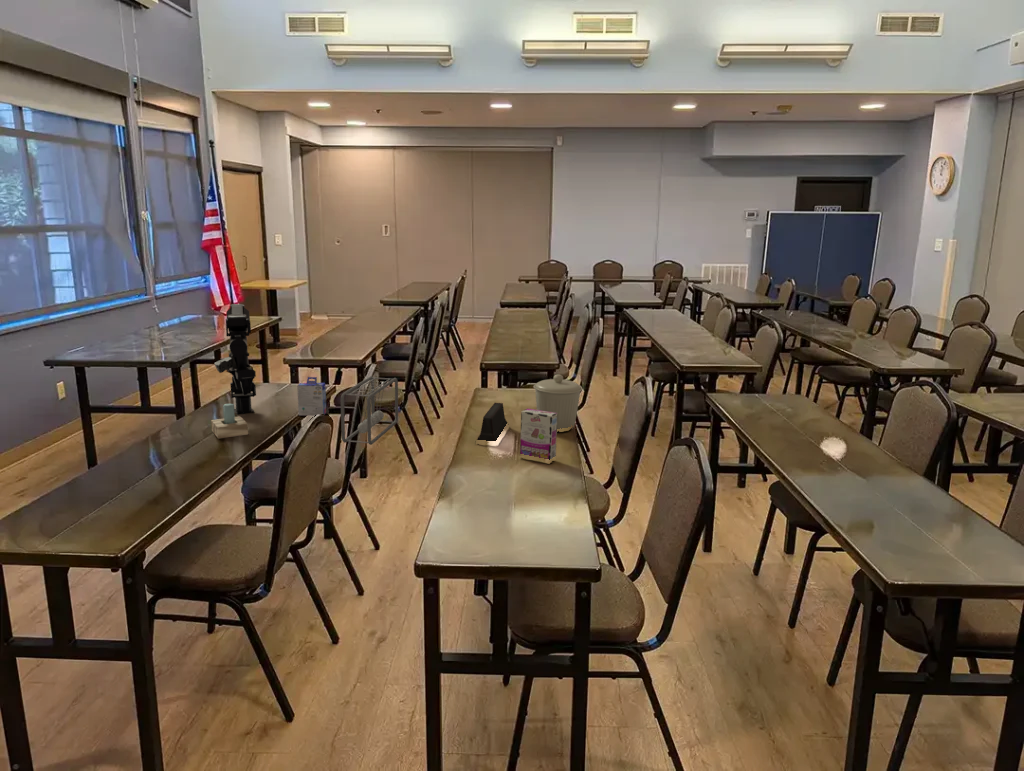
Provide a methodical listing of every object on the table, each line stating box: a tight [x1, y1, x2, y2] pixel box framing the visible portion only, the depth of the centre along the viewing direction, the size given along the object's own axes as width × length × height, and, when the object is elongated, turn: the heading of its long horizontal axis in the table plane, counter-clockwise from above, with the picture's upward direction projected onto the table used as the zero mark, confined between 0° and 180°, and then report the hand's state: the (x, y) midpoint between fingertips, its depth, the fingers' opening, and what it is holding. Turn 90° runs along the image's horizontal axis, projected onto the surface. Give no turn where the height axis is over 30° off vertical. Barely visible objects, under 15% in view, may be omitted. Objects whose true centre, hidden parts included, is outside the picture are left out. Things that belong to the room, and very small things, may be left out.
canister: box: [533, 374, 583, 429], centre depth 265 cm, size 18×18×21 cm
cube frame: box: [340, 375, 399, 446], centre depth 255 cm, size 30×10×18 cm, turn 170°
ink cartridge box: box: [297, 376, 328, 417], centre depth 276 cm, size 10×6×14 cm, turn 92°
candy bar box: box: [519, 408, 558, 460], centre depth 232 cm, size 11×5×16 cm, turn 62°
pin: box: [222, 403, 236, 424], centre depth 251 cm, size 4×4×9 cm
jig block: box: [210, 416, 249, 440], centre depth 252 cm, size 10×10×4 cm
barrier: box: [476, 402, 508, 441], centre depth 257 cm, size 24×9×10 cm, turn 170°
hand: (241, 391), depth 261 cm, fingers open, 9 cm apart
